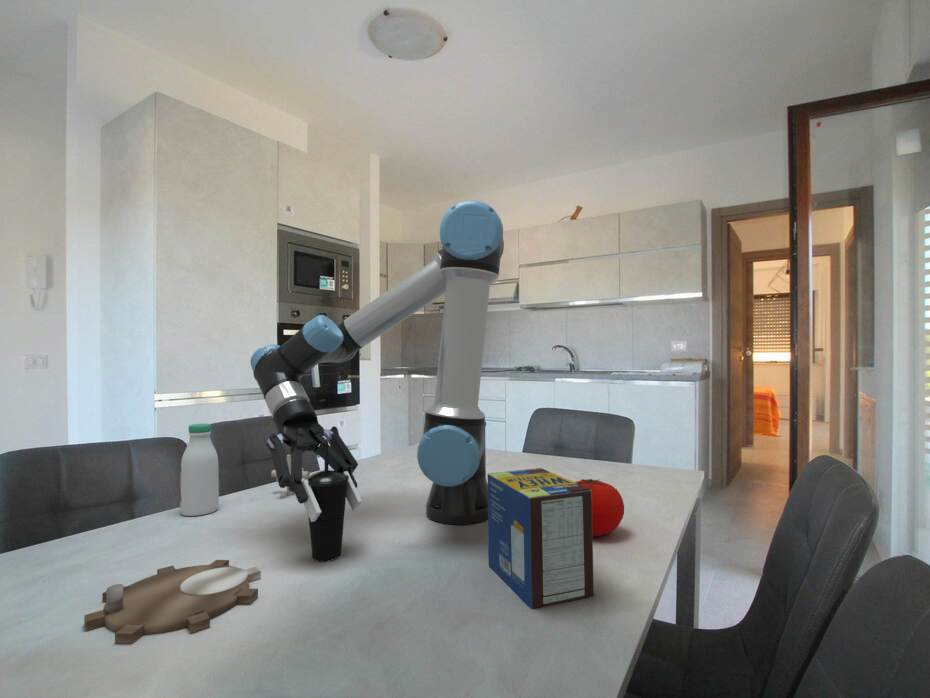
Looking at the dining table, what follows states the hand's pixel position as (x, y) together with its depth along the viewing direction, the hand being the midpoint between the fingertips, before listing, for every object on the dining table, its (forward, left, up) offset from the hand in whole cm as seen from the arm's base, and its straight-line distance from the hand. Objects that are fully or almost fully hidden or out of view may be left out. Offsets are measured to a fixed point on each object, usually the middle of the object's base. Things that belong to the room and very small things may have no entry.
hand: (337, 511), depth 83 cm
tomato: (-46, -15, -9) cm, 50 cm away
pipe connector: (+26, -41, -9) cm, 49 cm away
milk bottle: (+41, -26, -9) cm, 49 cm away
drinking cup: (+3, -2, -9) cm, 9 cm away
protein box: (-33, +6, -9) cm, 35 cm away
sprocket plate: (+19, +14, -9) cm, 25 cm away
